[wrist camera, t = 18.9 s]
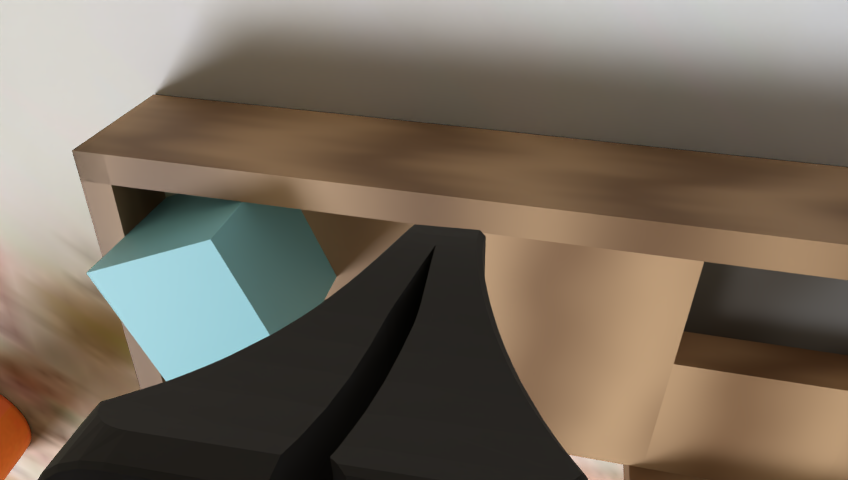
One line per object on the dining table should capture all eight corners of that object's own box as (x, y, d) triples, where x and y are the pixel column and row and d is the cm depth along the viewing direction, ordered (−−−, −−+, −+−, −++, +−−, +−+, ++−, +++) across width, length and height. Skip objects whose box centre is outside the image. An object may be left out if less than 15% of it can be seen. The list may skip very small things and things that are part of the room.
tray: (1285, 213, 18) (1457, 319, 15) (1037, 513, 26) (1111, 635, 22) (153, 94, 24) (71, 150, 20) (210, 370, 31) (157, 449, 27)
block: (336, 276, 24) (288, 365, 20) (232, 300, 25) (170, 386, 22) (275, 163, 22) (210, 239, 18) (166, 197, 23) (86, 273, 20)
